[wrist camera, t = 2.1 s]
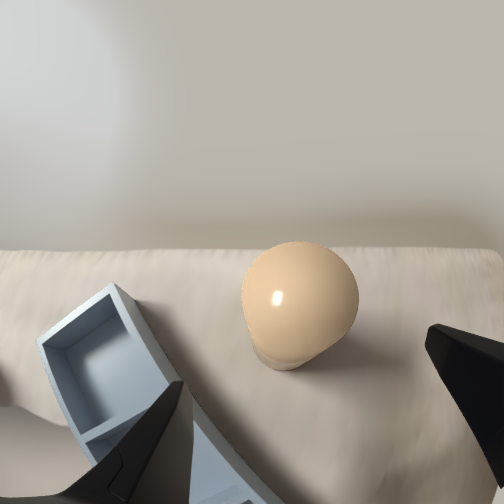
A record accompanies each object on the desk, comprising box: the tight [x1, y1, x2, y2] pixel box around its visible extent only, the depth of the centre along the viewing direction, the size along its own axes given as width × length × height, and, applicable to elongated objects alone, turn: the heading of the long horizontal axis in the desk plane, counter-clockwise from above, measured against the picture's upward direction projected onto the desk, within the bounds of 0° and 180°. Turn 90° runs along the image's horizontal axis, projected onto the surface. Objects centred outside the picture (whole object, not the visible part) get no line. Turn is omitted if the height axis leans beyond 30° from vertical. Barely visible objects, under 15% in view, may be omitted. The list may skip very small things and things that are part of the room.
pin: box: [242, 241, 359, 371], centre depth 14 cm, size 4×4×10 cm
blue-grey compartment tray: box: [36, 282, 285, 504], centre depth 13 cm, size 25×9×4 cm, turn 37°
